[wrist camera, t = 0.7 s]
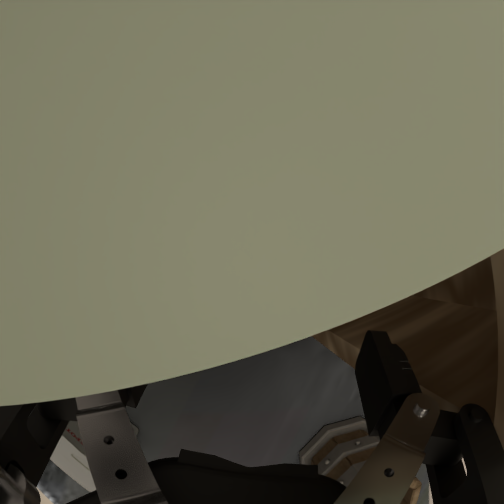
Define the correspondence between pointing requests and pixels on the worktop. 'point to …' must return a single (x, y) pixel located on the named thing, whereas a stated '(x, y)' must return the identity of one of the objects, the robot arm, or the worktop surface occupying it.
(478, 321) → the wooden crate
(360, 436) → the tankard
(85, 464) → the ink box
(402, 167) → the sage mallet
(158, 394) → the worktop surface
